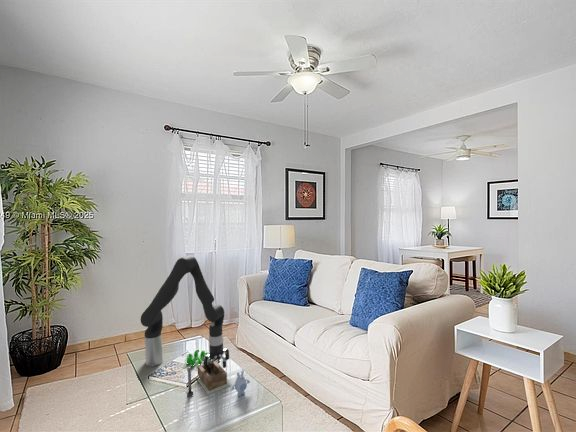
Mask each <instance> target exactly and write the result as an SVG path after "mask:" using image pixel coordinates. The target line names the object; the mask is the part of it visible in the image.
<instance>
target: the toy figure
mask: <svg viewBox="0 0 576 432" xmlns="http://www.w3.org/2000/svg"><path fill="white" fill-rule="evenodd" d="M240 373H241V374H240ZM244 374H245V371H244V370H242V371H241V372H237V374H236V376H237V377H236V379H235V382H234V384H233V386H231V391H234V390H236V392H237V394H236V395H237V396H238V397H240V396H242V395H245V393H246V389H247V387H248V385H247V384H250V383H251V380H249V379H247V378H245V376H244Z"/></svg>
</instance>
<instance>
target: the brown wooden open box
mask: <svg viewBox="0 0 576 432" xmlns="http://www.w3.org/2000/svg"><path fill="white" fill-rule="evenodd" d="M207 363H208V361H207ZM210 367H211V373H214V374H215V375H214V376H212V377H210V375H209V374H211V373H208V371H207V367H205V366H204V363H202V365H199V366H198V365H197V376H198V375H199V378H200V380H201V381H202V382H203V384H204V385H205V386H206V387H207V389H208V390H209V391H210V390H213V389H215V388H218V387H220V386H222V385H225V384H227V382H228V375H227V374H228V373H227V371H226V370H224V368H223V366H221V365H220V364H219V363H218V362H217V361H214V362H213V364H212V365H211V366H210Z"/></svg>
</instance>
